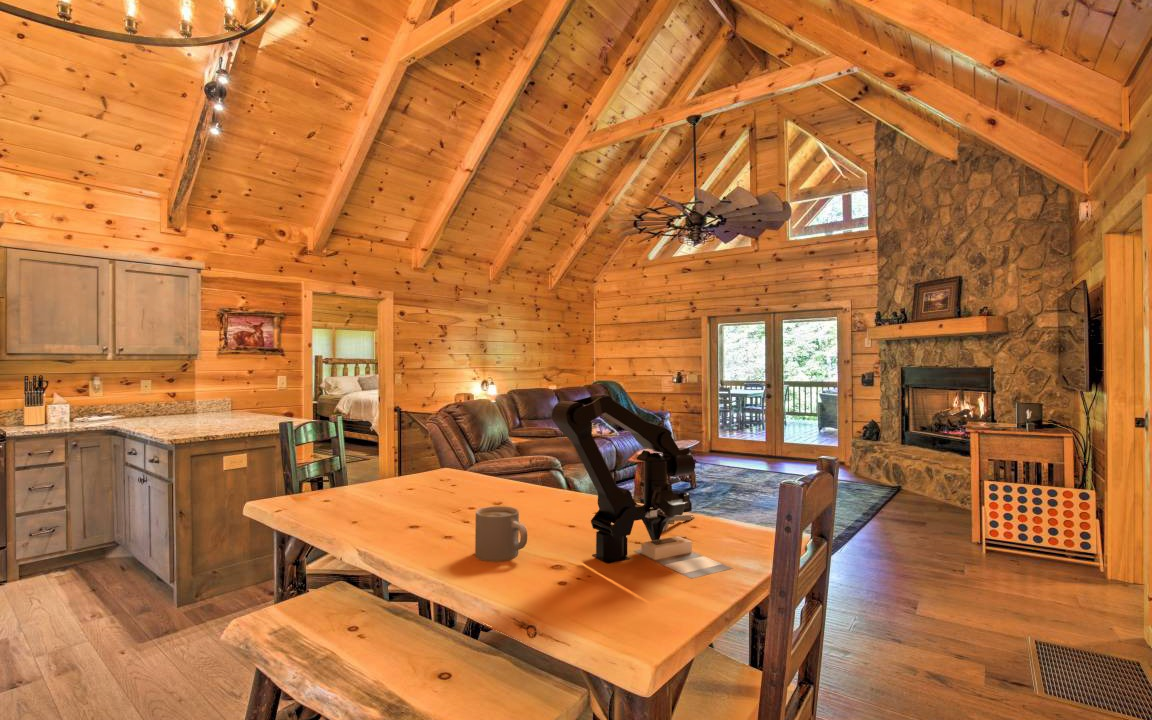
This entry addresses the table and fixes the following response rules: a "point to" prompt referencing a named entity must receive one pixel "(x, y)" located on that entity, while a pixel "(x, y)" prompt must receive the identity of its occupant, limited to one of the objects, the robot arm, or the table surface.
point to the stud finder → (666, 547)
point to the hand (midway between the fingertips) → (655, 543)
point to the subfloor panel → (691, 564)
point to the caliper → (677, 518)
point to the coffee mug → (498, 533)
